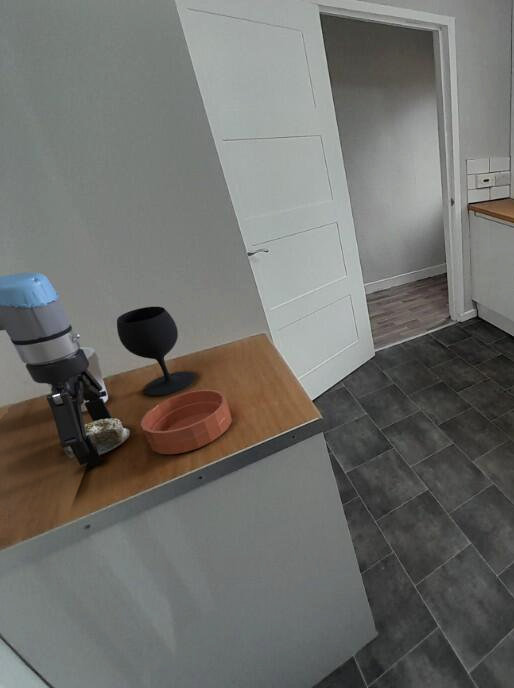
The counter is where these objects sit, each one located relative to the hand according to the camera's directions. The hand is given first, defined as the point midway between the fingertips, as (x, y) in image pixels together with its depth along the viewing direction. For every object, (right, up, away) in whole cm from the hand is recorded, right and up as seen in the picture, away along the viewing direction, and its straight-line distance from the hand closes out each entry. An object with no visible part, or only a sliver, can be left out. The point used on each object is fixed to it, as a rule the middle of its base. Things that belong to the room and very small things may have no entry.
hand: (99, 444), depth 84 cm
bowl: (+16, +1, +4) cm, 17 cm away
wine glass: (-1, +8, +19) cm, 21 cm away
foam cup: (-14, +5, +11) cm, 19 cm away
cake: (0, 0, 0) cm, 0 cm away
